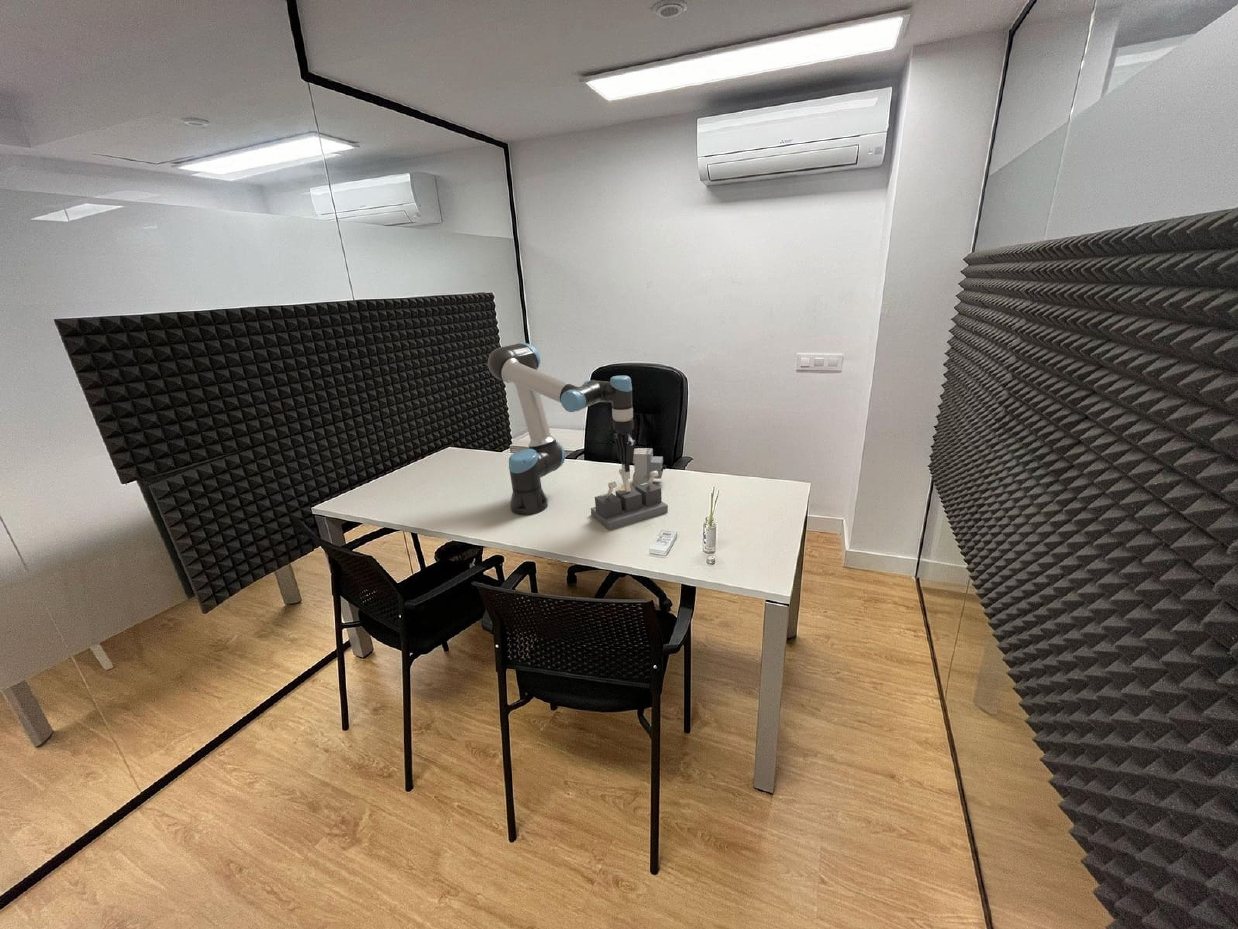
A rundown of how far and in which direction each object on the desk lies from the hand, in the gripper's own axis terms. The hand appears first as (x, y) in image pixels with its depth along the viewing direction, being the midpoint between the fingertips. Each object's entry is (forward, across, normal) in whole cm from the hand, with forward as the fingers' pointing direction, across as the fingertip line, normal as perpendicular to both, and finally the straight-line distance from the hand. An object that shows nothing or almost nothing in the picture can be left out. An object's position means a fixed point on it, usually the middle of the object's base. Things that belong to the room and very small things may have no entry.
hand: (626, 478), depth 184 cm
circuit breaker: (+15, +20, -23) cm, 34 cm away
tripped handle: (+5, -1, 0) cm, 5 cm away
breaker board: (+15, -1, 0) cm, 15 cm away
